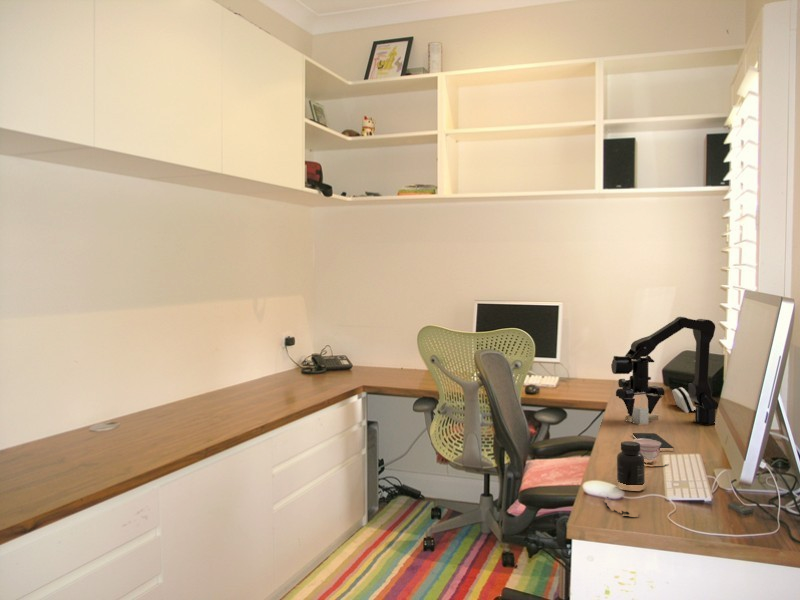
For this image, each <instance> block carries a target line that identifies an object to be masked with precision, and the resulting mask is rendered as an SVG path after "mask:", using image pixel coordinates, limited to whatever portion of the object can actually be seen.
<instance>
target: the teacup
mask: <svg viewBox="0 0 800 600" xmlns="http://www.w3.org/2000/svg"><path fill="white" fill-rule="evenodd" d="M632 442H637V443H640V452H639V453H641V454H642V455H643V456H644V459H647V460H653V459H656V458H657V457H659V455H660V453H661V451H660V448H659V447H660V446H661V442H659V441H656V440H652V439H635V438H633V440H632ZM657 450H658V451H657Z"/></svg>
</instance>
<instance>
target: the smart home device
mask: <svg viewBox="0 0 800 600" xmlns="http://www.w3.org/2000/svg"><path fill="white" fill-rule="evenodd" d="M633 435H634V436H635V437H636V438H637V439H652V440H656V441H659V442H661V446H660V447H659V448H674V446H672V445H671V444H670V443H669V442H667V441H666V440H665V439H663V438H662V437H661V436H660V435H659V434H657V433H655V432H652V433H651V432H649V433H648V432H647V433H646V432H633V433H632V436H633Z"/></svg>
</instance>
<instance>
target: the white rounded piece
mask: <svg viewBox="0 0 800 600" xmlns="http://www.w3.org/2000/svg"><path fill="white" fill-rule="evenodd" d="M671 393H672V396H673V398H674V400H675V401H674V402H675V404H676V406H677V407H679V408H680V409H681V411H683V412H685V413H687V414H688V413H690V411H692V412H695V411H694V410H696V406H694V403H693V400H692V399H691V398H690V397H689V394H688V391H687V390H686V389H685V388H683V387H678V388H674V389H672V391H671Z"/></svg>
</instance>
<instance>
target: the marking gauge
mask: <svg viewBox="0 0 800 600" xmlns="http://www.w3.org/2000/svg"><path fill="white" fill-rule="evenodd" d="M627 414H628V415H629V413H628V411H627ZM632 415H633V422H634V423H637V424H636V425H638V424H646V425H649V421H648V407H643V406H634V408H633V413H632ZM634 423H633V424H634Z"/></svg>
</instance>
